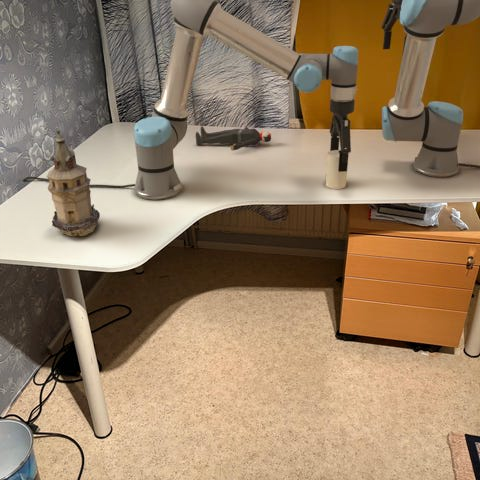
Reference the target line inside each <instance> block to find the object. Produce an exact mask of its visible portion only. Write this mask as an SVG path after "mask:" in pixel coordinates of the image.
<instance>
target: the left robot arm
mask: <svg viewBox="0 0 480 480" xmlns="http://www.w3.org/2000/svg"><path fill="white" fill-rule="evenodd" d="M170 9H171V13H172V14H173V17H174V18H173V24H174V25H175V27H176V31H175V36H174V39H173V44H172V49H171V52H170V58H169V60H168V65H167V70H166V74H165V79H164V82H163V86H162V92H161V95H160V100H159V101H157V102H155V103H154V105H153V109H152V114H151V116H148V117H145V118H142V119H139V120H138V121H137V122H136V123H135V125H134V127H133V139H134V144H135V154H136V161H137V175H136V179H135V183H130V184H124V185H114V184H89V188H111V189H112V188H113V189H116V188H117V189H125V188H131V187H132V188H133V187H134V193H135V195H136V196H137V197H138V198H141V199H143V200H148V201H161V200H168V199H171V198H174V197H176V196H178V195H179V194H180V193H181V192H182V182H181V180H180V177H179V176H178V173H177V171H176V169H175V161H174V160H175V159H174V158H175V157H174V149H175V148H176V147H177V146H178V145H179V143H180V142H181V141H182V140H183V139H184V138H185V136H186V134H187V131H188V118H189V111H188V110H187V103H188V100H189V95H190V92H191V88H192V85H193V81H194V80H193V79H194V76H195V73H196V69H197V66H198V61H199V57H200V53H201V50H202V47H203V42H204V39H205V37H207V36H210V37H212V38H214V39H216V40H218V41H220V42H221V43H222V44H224V45H226V46H228V47H230V48H231V49H233V50H235V51H237V52H239V53H240V54H242V55H244V56H245V57H247V58H248V59H250V60H252V61H254V62H255V63H258V64H260V65H262V66H263V67H265V68H267V69H269V70H270V71H272V72H273V73H275V74H277V75H279V76H281V77H282V78H284V79H286V80H288V81H289V82H290V83H293V84H294V85H295V87H296V88H297V90H299V91H300V92H301V93H305V94H308V93H312V92H315V91H316V90H317V89H318V88H319V87H320V85H322V81H331V82H330V94H329V95H330V101H329V111H330V113H332V118H331V123H330V128H329V134H330V146H329V148H330V149H329V151H332V150H339V168H338V171H339V172H345V171H347V172H348V167H349V166H348V165H349V156H348V154H349V155H350V153H351V152H352V146H351V120H350V118H348V115H349V114H352V113H354V112H355V105H356V101H355V98H356V92H357V91H358V87H357V79H358V78H357V77H358V67H359V50H358V48H357V47H356V46H352V45H338V46H335V47H333V49H332V52H331V53H307V52H303V53H298V52H296V51H294V50H293V49H291V48H290V47H287V46H286V45H284V44H283V43H281V42H280V41H277V40H276V39H274V38H272V37H271V36H268V35H267V34H265V33H263V32H262V31H260V30H259V29H256V28H255V27H254V26H251V25H250V24H248V23H246V22H245V21H243V20H241V19H240V18H237V17H236V16H234V15H232V14H230V13H229V12H227V11H226V10H223V8H222V6H221V0H170ZM27 180H37V181H44V182H45V181H46V182H49V179H48V178H47V177H46V178H45V177H37V176H27V177H25V178H23V179H22V182H26V181H27Z"/></svg>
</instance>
